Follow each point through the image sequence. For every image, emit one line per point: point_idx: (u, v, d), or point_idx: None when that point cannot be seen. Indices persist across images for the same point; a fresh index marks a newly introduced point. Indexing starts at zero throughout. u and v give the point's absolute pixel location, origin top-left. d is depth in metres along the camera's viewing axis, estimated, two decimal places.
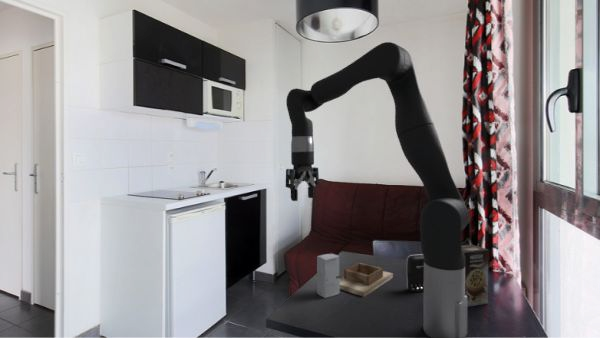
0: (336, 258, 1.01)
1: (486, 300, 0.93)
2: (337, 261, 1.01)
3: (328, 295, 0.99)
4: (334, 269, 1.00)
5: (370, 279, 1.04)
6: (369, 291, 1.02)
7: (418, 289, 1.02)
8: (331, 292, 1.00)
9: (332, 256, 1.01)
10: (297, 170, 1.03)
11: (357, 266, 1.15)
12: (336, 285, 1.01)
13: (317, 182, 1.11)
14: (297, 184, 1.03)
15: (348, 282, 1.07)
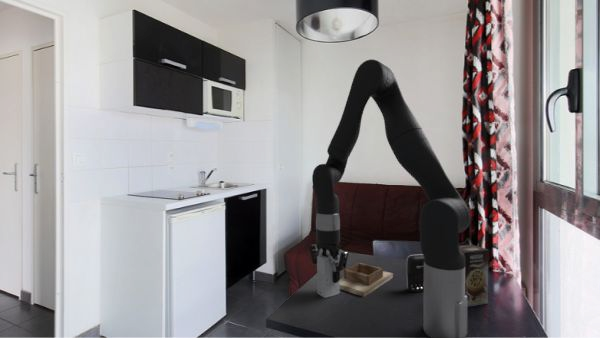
0: None
1: (486, 300, 0.93)
2: None
3: (328, 295, 0.99)
4: None
5: (370, 279, 1.04)
6: (369, 291, 1.02)
7: (418, 289, 1.02)
8: (331, 292, 1.00)
9: None
10: None
11: (357, 266, 1.15)
12: (336, 285, 1.01)
13: None
14: None
15: (348, 282, 1.07)
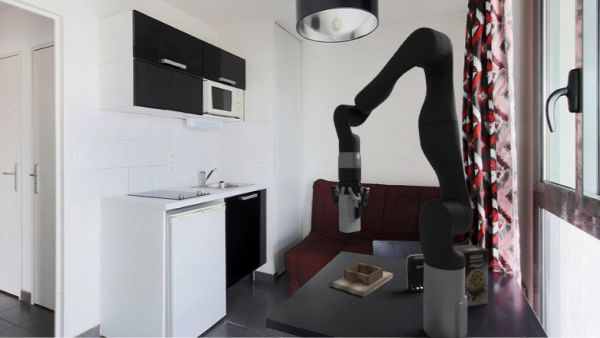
0: (357, 196, 1.05)
1: (486, 300, 0.93)
2: None
3: (350, 230, 1.03)
4: None
5: (370, 279, 1.04)
6: (369, 291, 1.02)
7: (418, 289, 1.02)
8: (353, 228, 1.04)
9: None
10: None
11: (357, 266, 1.15)
12: (357, 222, 1.05)
13: None
14: None
15: (348, 282, 1.07)
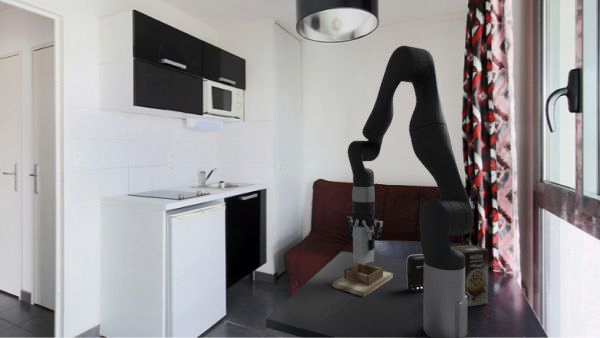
0: None
1: (486, 300, 0.93)
2: None
3: (364, 261, 1.07)
4: None
5: (370, 279, 1.04)
6: (369, 291, 1.02)
7: (418, 289, 1.02)
8: (367, 259, 1.08)
9: None
10: None
11: (357, 266, 1.15)
12: (371, 253, 1.09)
13: None
14: None
15: (348, 282, 1.07)
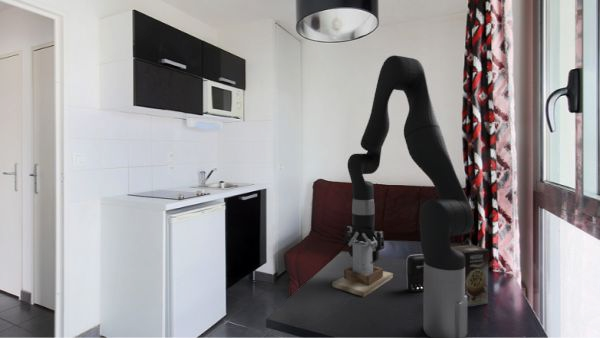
0: None
1: (486, 300, 0.93)
2: None
3: None
4: (369, 255, 1.09)
5: (370, 279, 1.04)
6: (369, 291, 1.02)
7: (418, 289, 1.02)
8: None
9: (367, 243, 1.10)
10: None
11: None
12: (370, 269, 1.10)
13: None
14: None
15: (348, 282, 1.07)
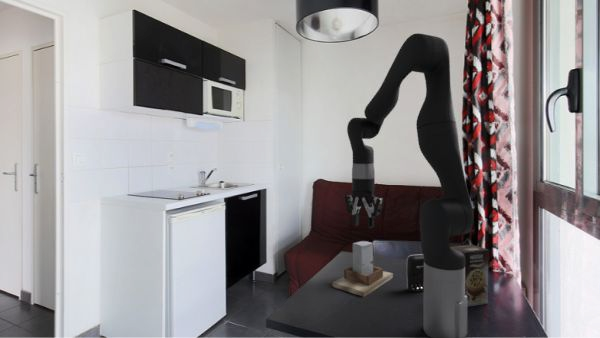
0: (370, 245, 1.10)
1: (486, 300, 0.93)
2: (371, 247, 1.10)
3: None
4: (369, 255, 1.09)
5: (370, 279, 1.04)
6: (369, 291, 1.02)
7: (418, 289, 1.02)
8: None
9: (366, 243, 1.10)
10: None
11: None
12: (370, 269, 1.10)
13: None
14: None
15: (348, 282, 1.07)
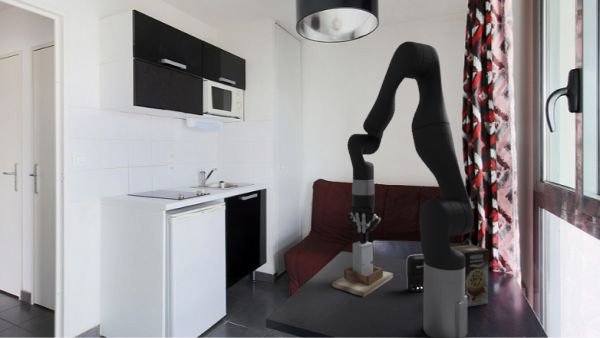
0: (370, 245, 1.10)
1: (486, 300, 0.93)
2: (371, 247, 1.10)
3: None
4: (369, 255, 1.09)
5: (370, 279, 1.04)
6: (369, 291, 1.02)
7: (418, 289, 1.02)
8: None
9: (366, 243, 1.10)
10: None
11: None
12: (370, 269, 1.10)
13: None
14: None
15: (348, 282, 1.07)
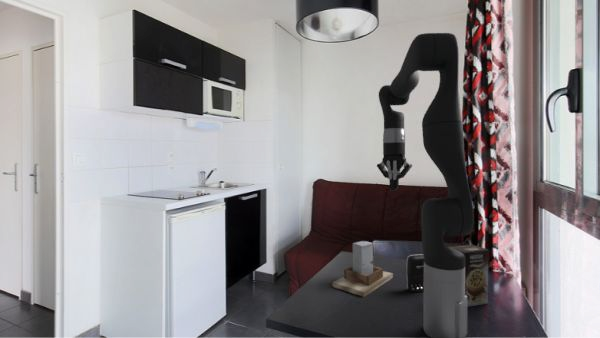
0: (370, 245, 1.10)
1: (486, 300, 0.93)
2: (371, 247, 1.10)
3: None
4: (369, 255, 1.09)
5: (370, 279, 1.04)
6: (369, 291, 1.02)
7: (418, 289, 1.02)
8: None
9: (366, 243, 1.10)
10: None
11: None
12: (370, 269, 1.10)
13: None
14: None
15: (348, 282, 1.07)
